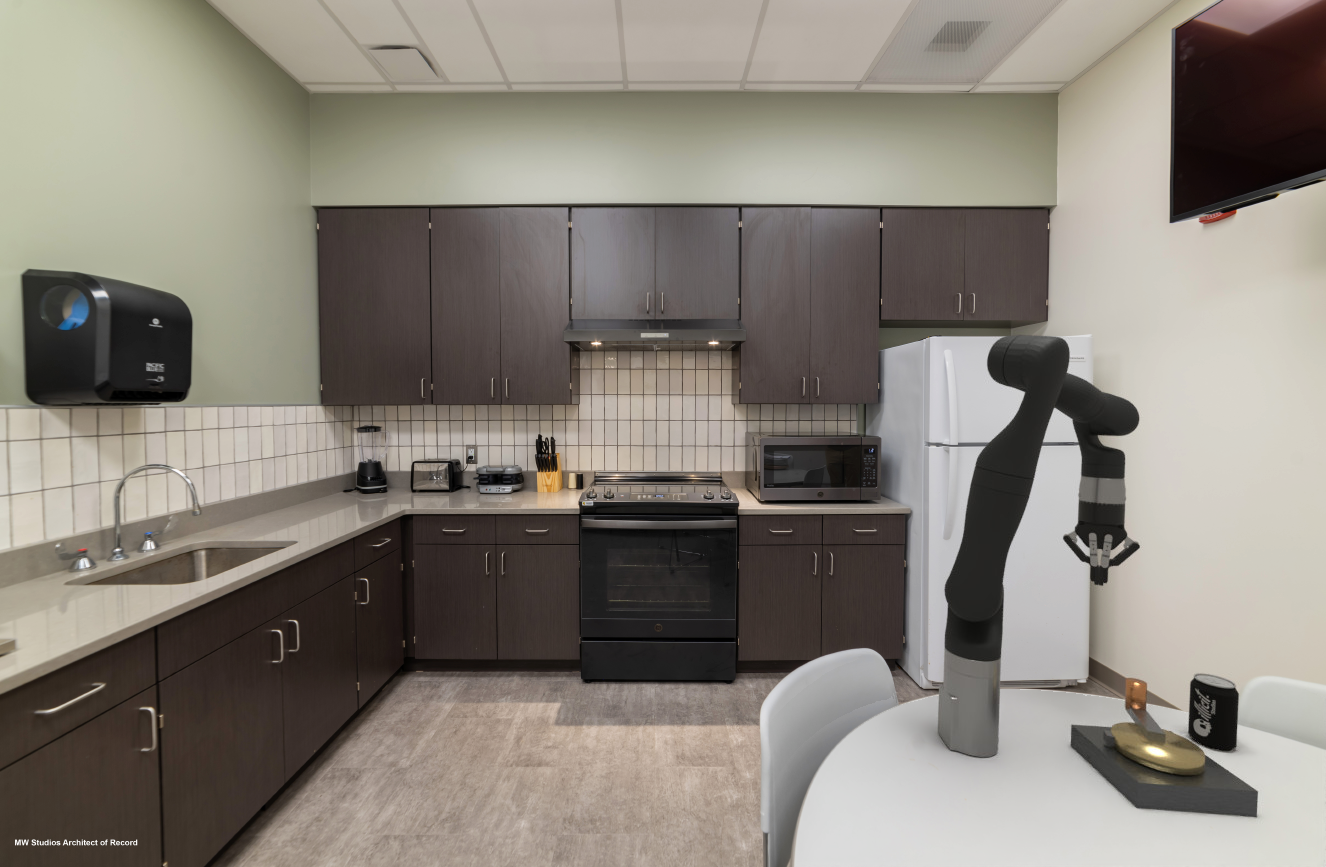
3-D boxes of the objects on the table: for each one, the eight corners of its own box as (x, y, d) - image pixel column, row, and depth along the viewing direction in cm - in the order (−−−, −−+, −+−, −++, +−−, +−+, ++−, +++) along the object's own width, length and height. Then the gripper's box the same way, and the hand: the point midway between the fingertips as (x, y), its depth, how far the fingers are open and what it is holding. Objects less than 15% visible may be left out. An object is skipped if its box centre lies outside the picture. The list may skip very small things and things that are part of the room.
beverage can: (1241, 757, 103) (1244, 691, 103) (1192, 745, 107) (1195, 682, 107) (1230, 740, 109) (1233, 677, 109) (1184, 729, 113) (1186, 669, 112)
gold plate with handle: (1219, 783, 89) (1221, 732, 89) (1116, 761, 94) (1118, 713, 94) (1172, 727, 105) (1174, 684, 105) (1086, 712, 110) (1088, 670, 110)
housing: (1136, 807, 89) (1138, 781, 89) (1070, 745, 106) (1071, 723, 106) (1256, 816, 88) (1258, 789, 88) (1169, 752, 105) (1170, 729, 104)
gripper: (1142, 500, 115) (1139, 586, 116) (1062, 494, 123) (1059, 574, 124) (1146, 504, 109) (1142, 595, 110) (1061, 498, 117) (1058, 582, 118)
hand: (1098, 584), depth 117 cm, fingers closed
